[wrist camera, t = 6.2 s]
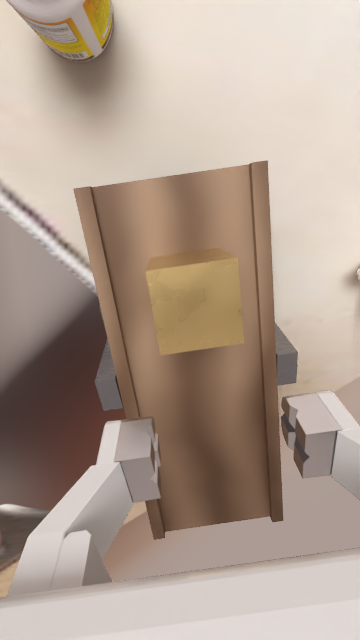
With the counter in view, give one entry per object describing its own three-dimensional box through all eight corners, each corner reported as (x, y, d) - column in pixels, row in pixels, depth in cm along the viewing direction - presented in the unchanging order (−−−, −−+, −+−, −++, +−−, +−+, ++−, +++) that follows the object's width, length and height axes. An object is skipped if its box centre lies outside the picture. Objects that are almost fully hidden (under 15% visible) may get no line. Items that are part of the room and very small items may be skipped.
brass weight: (217, 247, 21) (237, 257, 15) (224, 311, 22) (244, 343, 16) (150, 257, 21) (145, 271, 15) (161, 320, 22) (160, 355, 16)
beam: (253, 168, 22) (267, 160, 19) (272, 492, 31) (283, 520, 28) (85, 192, 22) (73, 188, 19) (155, 510, 31) (153, 539, 28)
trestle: (263, 179, 27) (314, 184, 18) (264, 344, 35) (300, 404, 26) (75, 206, 27) (35, 225, 18) (118, 366, 35) (105, 433, 26)
